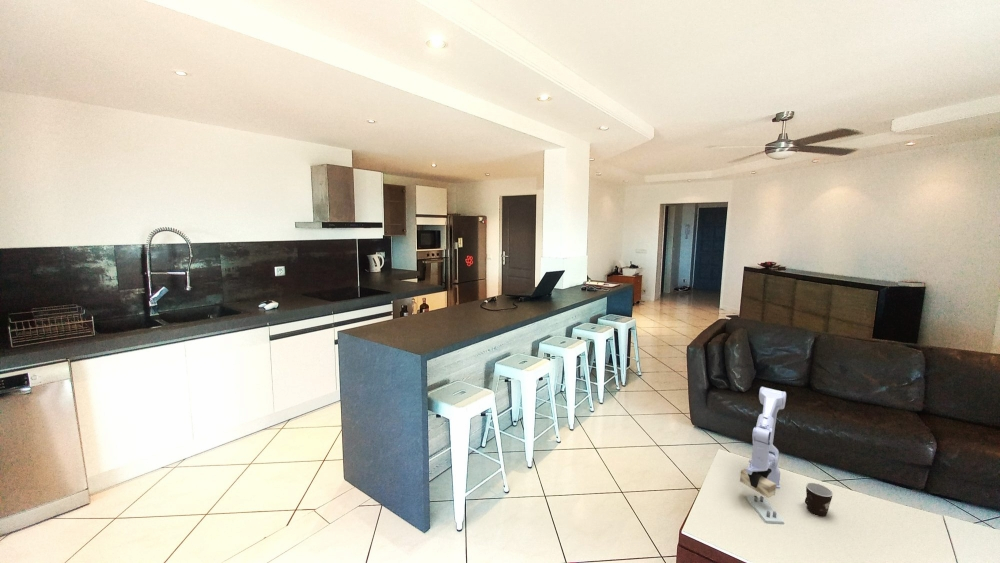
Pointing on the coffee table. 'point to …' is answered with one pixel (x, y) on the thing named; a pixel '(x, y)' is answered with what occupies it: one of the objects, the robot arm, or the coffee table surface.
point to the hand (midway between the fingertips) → (757, 484)
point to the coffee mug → (818, 499)
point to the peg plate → (765, 510)
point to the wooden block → (759, 484)
